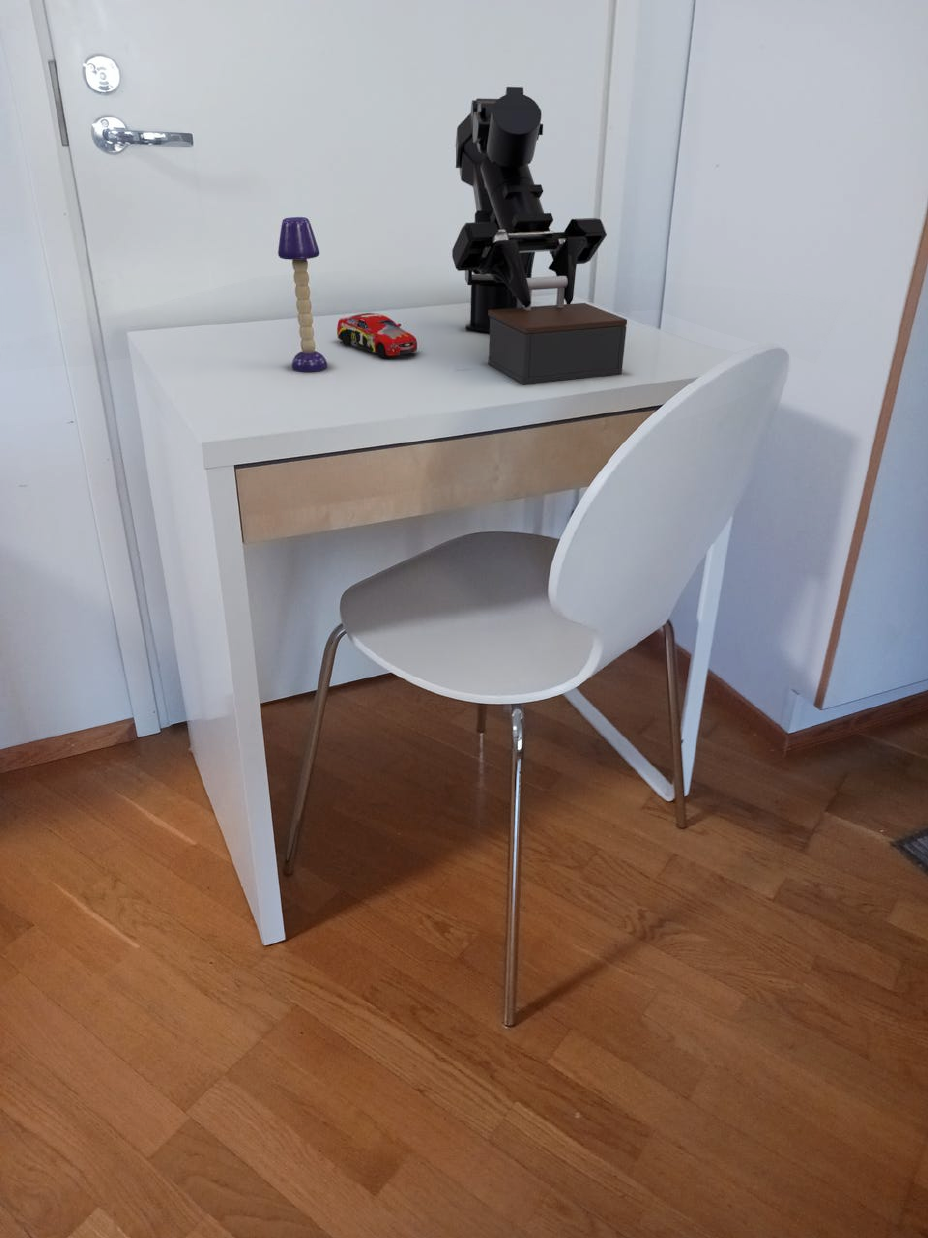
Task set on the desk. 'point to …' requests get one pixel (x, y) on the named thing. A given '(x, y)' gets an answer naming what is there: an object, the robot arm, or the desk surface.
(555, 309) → the lid
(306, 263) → the toy lamp
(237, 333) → the desk surface
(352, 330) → the race car
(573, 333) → the dark grey box
